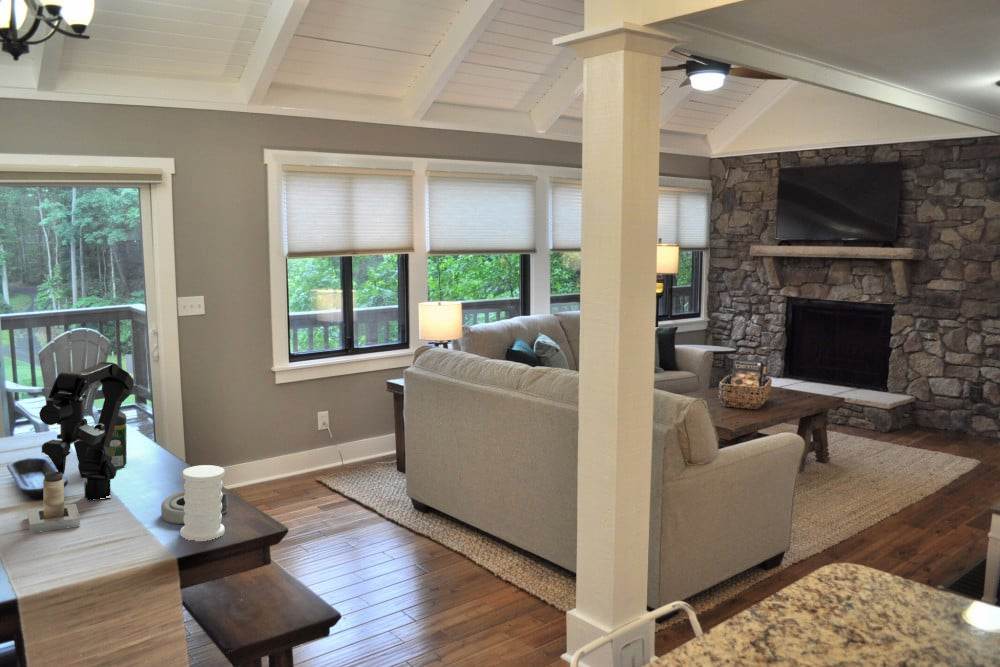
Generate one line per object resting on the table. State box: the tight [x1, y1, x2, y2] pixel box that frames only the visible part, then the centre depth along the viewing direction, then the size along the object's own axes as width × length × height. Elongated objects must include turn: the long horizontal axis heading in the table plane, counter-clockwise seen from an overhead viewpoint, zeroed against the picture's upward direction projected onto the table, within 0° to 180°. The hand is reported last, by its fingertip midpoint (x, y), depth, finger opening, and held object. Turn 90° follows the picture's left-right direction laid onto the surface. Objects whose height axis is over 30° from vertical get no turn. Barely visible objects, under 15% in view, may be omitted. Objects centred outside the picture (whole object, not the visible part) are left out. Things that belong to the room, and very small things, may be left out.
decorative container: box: [179, 464, 226, 542], centre depth 221 cm, size 12×12×18 cm
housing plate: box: [27, 503, 81, 534], centre depth 223 cm, size 12×12×2 cm
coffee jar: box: [109, 410, 128, 469], centre depth 273 cm, size 10×8×19 cm
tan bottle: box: [42, 471, 65, 519], centre depth 222 cm, size 5×5×14 cm
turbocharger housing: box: [160, 490, 229, 525], centre depth 235 cm, size 17×6×15 cm
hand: (71, 469), depth 229 cm, fingers open, 9 cm apart
